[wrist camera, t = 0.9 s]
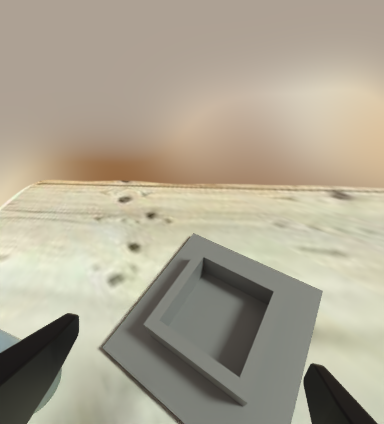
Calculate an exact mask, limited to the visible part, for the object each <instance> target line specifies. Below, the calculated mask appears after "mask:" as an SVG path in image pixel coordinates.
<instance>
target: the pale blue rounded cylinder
mask: <svg viewBox="0 0 384 424" xmlns="http://www.w3.org/2000/svg"><path fill="white" fill-rule="evenodd" d="M19 341H21V339H19V338H17V337H15V336H13V335H11V334H9V333H7V332H5V331H3V330H0V353H1V352H2V351H4V350H6V349H7V348H9V347H11V346H12V345H14V344H16V343H18V342H19ZM60 378H61V369H60V371H59V373H58V375H57V376H56V378H55V380H54V382H53V383H52V385H51V387H50V388H49V390H48V391H47V393H46V395H45V396H44V398H43V399H42V401H41V402H40V404H39V406H38V407H37V409H36V410H35V412H34V413H36V412H37V411H39V410H40V409H41V408H42V407H43V406H44V405H46V403H47V402H48V401H49V400H50V399H51V397H52V396H53V394H54V393H55V391H56V389H57V387H58V385H59V382H60ZM34 413H33V414H34Z"/></svg>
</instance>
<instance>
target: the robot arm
mask: <svg viewBox="0 0 384 424" xmlns="http://www.w3.org/2000/svg"><path fill="white" fill-rule="evenodd" d="M78 333H79V316H78V315H76V314H71V313H67V314H65V315H63V316H62V317H60V318H58V319H57V320H55V321H53V322H51V323H50V324H48V325H46V326H45V327H43V328H41V329H40V330H38V331H36V332H34V333H33V334H31V335H29V336H28V337H26V338H24V339H23V340H21V341H19V342H18V343H16V344H14V345H12V346H11V347H9V348H7V349H6V350H4V351H2V352H1V353H0V424H27V423H28V421H29V420H30V418H31V417H32V415H33V413H34V412H35V410H36V409H37V407H38V406H39V404H40V402H41V401H42V399H43V398H44V396H45V395H46V393H47V391H48V390H49V388H50V387H51V385H52V383H53V382H54V380H55V378H56V376H57V375H58V373H59V371H60V369H61V367H62V365H63V363H64V361H65V359H66V357H67V356H68V354H69V352H70V350H71V348H72V346H73V344H74V342H75V340H76V338H77V336H78ZM304 389H305V393H306V398H307V403H308V407H309V412H310V417H311V422H312V424H377V423H376V421H375V420H374V419H373V418H372V417H371V416H370V415H369V414H368V413H367V412H366V411H365V410H364V409H363V407H362V406H361V405H360V404H359V403H358V402H357V401H356V400H355V399H354V398H353V397H352V396H351V395H350V394H349V392H348V391H347V390H346V389H345V388H344V387H343V386H342V385H341V384H340V383H339V382H338V381H337V380H336V378H335V377H334V376H333V375H332V374H331V373H330V372H329V371H328V370H327V369H326V368H325V367H324V366H322V365H319V364H314V363H312V364H310V366H309V368H308V370H307V372H306V374H305V377H304Z"/></svg>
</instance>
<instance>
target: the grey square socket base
mask: <svg viewBox="0 0 384 424" xmlns="http://www.w3.org/2000/svg"><path fill="white" fill-rule="evenodd" d="M322 292H323V291H321V290H319V289H317V288H315V287H312V286H310V285H308V284H306V283H304V282H301V281H299V280H297V279H295V278H292V277H290V276H288V275H286V274H283V273H281V272H279V271H277V270H274V269H272V268H270V267H268V266H266V265H263V264H261V263H259V262H257V261H254V260H252V259H250V258H248V257H245V256H243V255H241V254H239V253H236V252H234V251H232V250H230V249H228V248H225V247H223V246H221V245H219V244H216V243H214V242H212V241H210V240H207V239H205V238H203V237H201V236H199V235H196V234H194V233H193V235H192V236H191V237H190V238H189V240H188V241H187V242H186V243H185V245H184V246H183V247H182V248H181V250H180V251H179V252H178V253H177V255H176V256H175V257H174V258H173V260H172V261H171V262H170V264H169V265H168V266H167V267H166V269H165V270H164V271H163V272H162V274H161V275H160V276H159V277H158V279H157V280H156V281H155V282H154V284H153V285H152V286H151V287H150V289H149V290H148V291H147V292H146V294H145V295H144V296H143V297H142V299H141V300H140V301H139V302H138V304H137V305H136V306H135V307H134V309H133V310H132V311H131V312H130V314H129V315H128V316H127V317H126V319H125V320H124V321H123V322H122V324H121V325H120V326H119V327H118V329H117V330H116V331H115V332H114V334H113V335H112V336H111V337H110V339H109V340H108V341H107V342H106V344H105V345H104V346H103V347H102V348H103V349H104V350H105V351H106V352H107V353H108V354H109V355H111V356H112V357H113V358H114V359H115V360H116V361H117V362H118V363H119V364H120V365H121V366H123V367H124V368H125V369H126V370H127V371H128V372H129V373H130V374H131V375H132V376H133V377H134V378H136V379H137V380H138V381H139V382H140V383H141V384H142V385H143V386H144V387H145V388H146V389H147V390H149V391H150V392H151V393H152V394H153V395H154V396H155V397H156V398H157V399H158V400H159V401H160V402H162V403H163V404H164V405H165V406H166V407H167V408H168V409H169V410H170V411H171V412H172V413H173V414H175V415H176V416H177V417H178V418H179V419H180V420H181V421H182V422H183V423H184V424H291V420H292V416H293V412H294V408H295V404H296V400H297V396H298V391H299V387H300V383H301V379H302V375H303V371H304V367H305V362H306V358H307V354H308V350H309V346H310V342H311V338H312V333H313V329H314V325H315V321H316V317H317V313H318V309H319V304H320V300H321V296H322Z"/></svg>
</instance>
